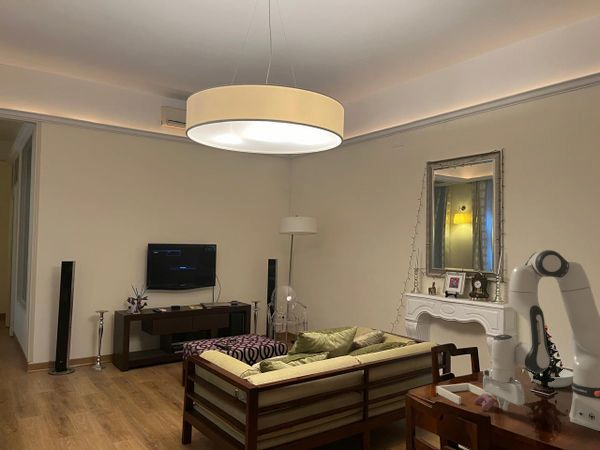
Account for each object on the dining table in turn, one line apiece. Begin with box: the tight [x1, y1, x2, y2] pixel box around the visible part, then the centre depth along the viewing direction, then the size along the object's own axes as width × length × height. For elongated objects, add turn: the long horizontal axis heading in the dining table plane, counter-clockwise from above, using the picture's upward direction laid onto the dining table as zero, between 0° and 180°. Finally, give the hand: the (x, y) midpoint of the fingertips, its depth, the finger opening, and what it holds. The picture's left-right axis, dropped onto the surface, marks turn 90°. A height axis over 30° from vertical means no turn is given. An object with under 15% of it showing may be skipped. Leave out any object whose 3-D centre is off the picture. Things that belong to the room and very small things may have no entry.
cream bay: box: [435, 382, 494, 405], centre depth 219 cm, size 17×18×3 cm
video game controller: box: [473, 393, 495, 412], centre depth 204 cm, size 10×5×7 cm, turn 179°
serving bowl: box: [527, 368, 573, 389], centre depth 238 cm, size 21×21×7 cm
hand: (503, 409), depth 195 cm, fingers closed
